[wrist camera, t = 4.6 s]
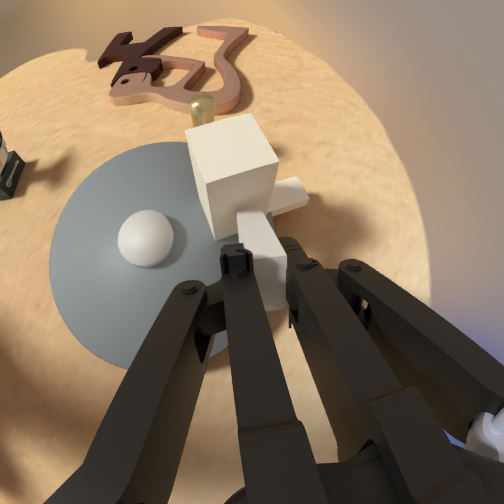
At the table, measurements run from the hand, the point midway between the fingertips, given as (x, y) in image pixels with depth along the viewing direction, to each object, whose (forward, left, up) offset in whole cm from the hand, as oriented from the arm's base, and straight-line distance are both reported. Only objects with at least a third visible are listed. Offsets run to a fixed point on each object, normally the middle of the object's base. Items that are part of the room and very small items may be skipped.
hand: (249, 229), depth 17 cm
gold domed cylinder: (-3, +12, -6) cm, 14 cm away
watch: (-32, +12, -6) cm, 34 cm away
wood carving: (-12, +31, -7) cm, 34 cm away
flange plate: (-6, +1, -5) cm, 8 cm away
